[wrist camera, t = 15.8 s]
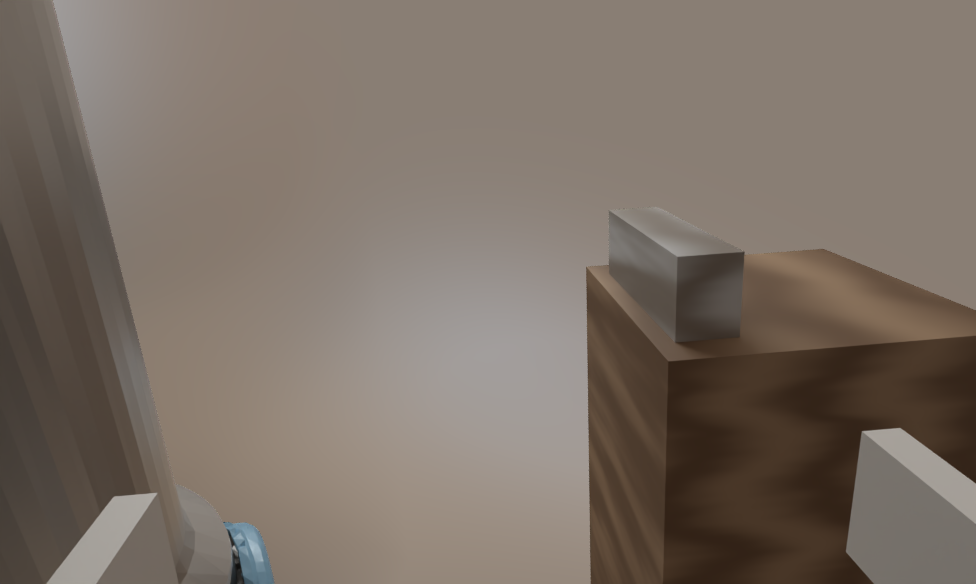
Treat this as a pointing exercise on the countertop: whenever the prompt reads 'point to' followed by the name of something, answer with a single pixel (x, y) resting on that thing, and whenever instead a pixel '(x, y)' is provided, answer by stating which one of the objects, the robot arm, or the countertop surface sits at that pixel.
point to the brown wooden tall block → (753, 402)
